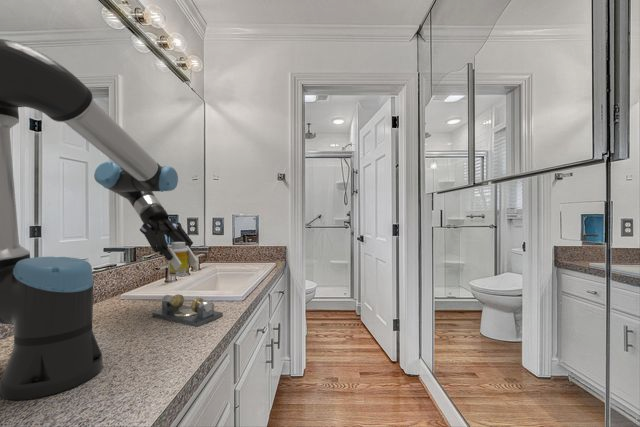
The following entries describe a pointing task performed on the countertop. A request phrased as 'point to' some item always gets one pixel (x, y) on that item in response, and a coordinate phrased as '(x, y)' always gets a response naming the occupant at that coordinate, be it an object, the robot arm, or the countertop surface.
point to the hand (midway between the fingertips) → (187, 265)
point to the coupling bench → (187, 311)
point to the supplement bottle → (182, 256)
